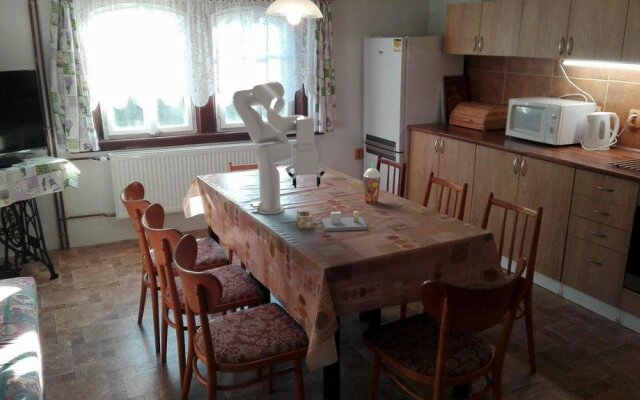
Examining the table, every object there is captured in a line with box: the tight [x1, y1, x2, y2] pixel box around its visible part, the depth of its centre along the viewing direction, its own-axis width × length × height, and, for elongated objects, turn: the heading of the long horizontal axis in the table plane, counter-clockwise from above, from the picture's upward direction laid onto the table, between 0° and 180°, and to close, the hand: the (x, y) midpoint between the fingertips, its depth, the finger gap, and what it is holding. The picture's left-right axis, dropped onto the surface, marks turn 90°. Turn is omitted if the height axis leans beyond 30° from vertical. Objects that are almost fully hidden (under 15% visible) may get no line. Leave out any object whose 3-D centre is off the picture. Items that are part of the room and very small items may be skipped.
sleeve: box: [296, 210, 314, 231], centre depth 230 cm, size 6×8×6 cm
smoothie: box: [363, 162, 381, 205], centre depth 263 cm, size 8×8×20 cm
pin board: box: [320, 210, 368, 232], centre depth 232 cm, size 18×13×6 cm
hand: (306, 186), depth 228 cm, fingers open, 9 cm apart
